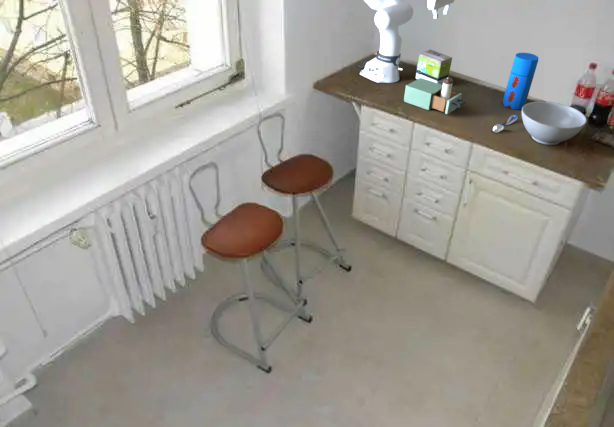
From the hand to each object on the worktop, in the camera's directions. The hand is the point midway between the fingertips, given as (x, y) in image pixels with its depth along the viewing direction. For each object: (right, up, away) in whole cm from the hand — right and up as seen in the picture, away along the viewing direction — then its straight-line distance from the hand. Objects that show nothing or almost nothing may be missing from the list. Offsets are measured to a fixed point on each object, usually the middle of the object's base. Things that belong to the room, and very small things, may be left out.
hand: (440, 16), depth 250 cm
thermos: (+40, -40, +14) cm, 58 cm away
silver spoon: (+29, -54, -5) cm, 61 cm away
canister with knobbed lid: (+3, -41, +7) cm, 42 cm away
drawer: (+4, -42, +7) cm, 43 cm away
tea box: (+4, -22, +36) cm, 43 cm away
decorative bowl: (+44, -61, -14) cm, 76 cm away
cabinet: (-5, -38, +14) cm, 41 cm away
